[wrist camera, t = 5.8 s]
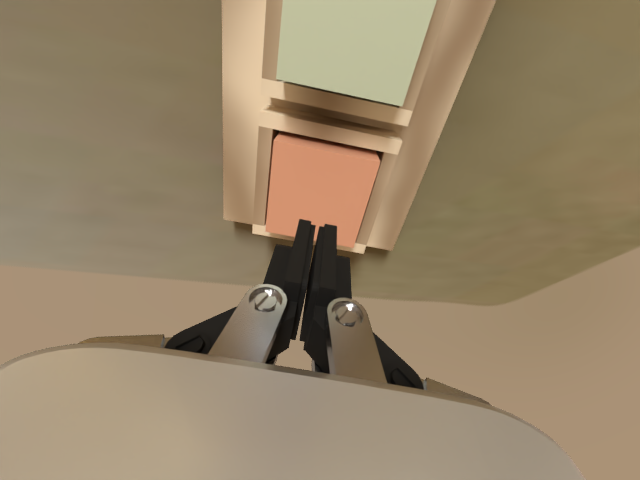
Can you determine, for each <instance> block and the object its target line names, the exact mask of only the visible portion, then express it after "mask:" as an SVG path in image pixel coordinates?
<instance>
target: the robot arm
mask: <svg viewBox="0 0 640 480" xmlns="http://www.w3.org/2000/svg"><path fill="white" fill-rule="evenodd" d="M315 227H316V225H312V224H311V221H308V220H303V219H299V223H298V227H297V231H296V235H295V239H294V243H293V247H289V246H284V245H278V244H276V247H275V249H274V253H273V256H272V259H271V262H270V265H269V268H268V271H267V274H266V277H265V280H264V283H263V284H260V285H256V286H254V287H252V288H251V289H249V290H248V291H247V293H246V294H245V295H244V297H243V299H242V300H241V302H240V304H239V305H238V306H237V307H235V308H232V309H230V310H228V311H226V312H224V313H221V314H219V315H217V316H215V317H212V318H210V319H208V320H206V321H203V322H201V323H199V324H197V325H195V326H192V327H190V328H188V329H185V330H183V331H181V332H180V333H178V334H176V335H174V336H173V337H171V338H165V337H164V335H139V336H137V335H136V336H111V337H96V338H89V339H87V340H84V341H82V342H80V343H78V344H70V345H64V346H57V347H51V348H46V349H42V350H38V351H34V352H31V353H28V354H24V355H22V356H19V357H17V358H14V359H12V360H9V361H7V362H6V363H4V364H2V365H0V480H586V479H585V477H584V476H583V474H582V473H581V472H580V470H579V469H578V467H577V466H576V465H575V463H574V462H573V461H572V459H571V458H570V457H569V455H568V454H567V453H566V452H565V451H564V450H563V449H562V447H561V446H560V445H559V444H557V443H556V442H555V441H554V440H553V439H552V438H551V437H549V436H548V435H547V434H545V433H544V432H543V431H541V430H540V429H538V428H536V427H535V426H533V425H532V424H530V423H528V422H526V421H524V420H523V419H521V418H519V417H517V416H515V415H513V414H511V413H509V412H506V411H504V410H502V409H499V408H497V407H494V406H492V405H490V404H489V403H488V402H486V401H484V400H482V399H481V398H478V397H475V396H473V395H470V394H468V393H465V392H463V391H460V390H458V389H455V388H452V387H450V386H447V385H444V384H442V383H440V382H437V381H434V380H432V379H429V378H426V379H425V380H423V379H420V377H419V376H418V375H417V374H416V372H415V371H414V370H413V369H412V368H411V367H410V366H409V365H408V364H407V363H405V361H403V360H402V359H401V358H400V357H399V356H398V355H397V354H396V353H395V352H394V351H393V350H392V349H391V348H389V347H388V346H387V345H386V344H385V343H384V342H383V341H382V340H381V339H380V338H379V337H378V336H377V335H375V334H374V333H373V332H372V328H371V325H370V321H369V318H368V314H367V312H366V310H365V309H364V307H363V306H362V305H361V304H359V303H358V302H357V301H355V300H352V294H351V274H350V258H348V257H343V256H338V255H337V226H335V225H329V224H325V225H324V227H323V226H319V230H318V235H317V239H316V244H315V249H314V253H313V258H312V262H311V256H312V249H313V241H314V234H315ZM310 263H311V267H310ZM309 270H310V272H309ZM306 289H307V291H306ZM305 293H306V298H305ZM304 298H305V305H304V312H303V320H302V327H301V334H300V341H304V342H305V343H304V350H305V351H306V352H307V353H308V354H309V355H310V357H311V358H312V371H308V370H302V369H296V368H290V367H283V366H277V365H275V363H276V361H277V357H278V354H280V353H281V352H283V351H284V350H286V349H287V348H289V343H290V339H292V340H295V339H296V335H297V330H298V326H299V321H300V316H301V312H302V307H303V303H304Z"/></svg>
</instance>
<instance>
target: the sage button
mask: <svg viewBox="0 0 640 480" xmlns="http://www.w3.org/2000/svg"><path fill="white" fill-rule="evenodd" d="M436 1H437V0H283V4H282V15H281V27H280V39H279V50H278V62H277V74H276V79H278V80H283V81H288V82H292V83H297V84H301V85H306V86H310V87H315V88H320V89H324V90H329V91H333V92H338V93H342V94H347V95H351V96H356V97H361V98H365V99H370V100H374V101H379V102H383V103H388V104H393V105H397V106H403V103H404V100H405V97H406V94H407V91H408V88H409V85H410V81H411V78H412V75H413V72H414V69H415V66H416V63H417V60H418V57H419V54H420V51H421V47H422V44H423V41H424V38H425V35H426V32H427V29H428V26H429V23H430V20H431V17H432V13H433V10H434V7H435V4H436Z"/></svg>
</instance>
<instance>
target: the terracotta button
mask: <svg viewBox="0 0 640 480" xmlns="http://www.w3.org/2000/svg"><path fill="white" fill-rule="evenodd" d="M379 165H380V160H379V157H378V155H377V152H376V150H372V149H367V148H362V147H357V146H353V145H348V144H343V143H338V142H333V141H329V140H324V139H319V138H314V137H309V136H304V135H300V134H295V133H290V132H285V131H280V132H279V134H278V135H277V136H276V138H275V139H274V143H273V153H272V164H271V175H270V186H269V197H268V208H267V219H266V230H265V232H270V233H276V234H281V235H286V236H292V237H295V235H296V231H297V227H298V223H299V219H303V220H308V221H311V224H312V225H316V227H315V234H314V241H316V239H317V235H318V230H319V226H323V227H324V225H325V224H329V225H335V226H337V245H340V246H346V247H351V248H354V244H355V241H356V238H357V235H358V232H359V229H360V225H361V222H362V219H363V216H364V213H365V210H366V206H367V203H368V200H369V197H370V194H371V191H372V187H373V184H374V181H375V178H376V175H377V172H378V168H379Z"/></svg>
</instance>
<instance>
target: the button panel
mask: <svg viewBox="0 0 640 480" xmlns="http://www.w3.org/2000/svg"><path fill="white" fill-rule="evenodd" d="M495 2H496V0H437V1H436V4H435V7H434V10H433V13H432V17H431V20H430V23H429V26H428V29H427V32H426V35H425V38H424V41H423V44H422V47H421V51H420V54H419V57H418V60H417V63H416V66H415V69H414V72H413V75H412V78H411V81H410V85H409V88H408V91H407V94H406V97H405V100H404V103H403V106H397V105H393V104H388V103H383V102H379V101H374V100H370V99H365V98H361V97H356V96H351V95H347V94H342V93H338V92H333V91H329V90H324V89H320V88H315V87H310V86H306V85H301V84H297V83H292V82H288V81H283V80H278V79H276V74H277V62H278V50H279V39H280V27H281V15H282V4H283V0H222V75H223V196H224V219H225V220H230V221H235V222H241V223H246V224H252V225H253V230H252V233H253V234H259V235H264V236H269V237H275V238H280V239H286V240H291V241H294V239H295V237H292V236H286V235H281V234H276V233H270V232H265V230H266V219H267V208H268V197H269V186H270V175H271V164H272V153H273V143H274V139H275V138H276V136H277V135H278V134H279V132H280V131H285V132H290V133H295V134H300V135H304V136H309V137H314V138H319V139H324V140H329V141H333V142H338V143H343V144H348V145H353V146H357V147H362V148H367V149H372V150H376V152H377V155H378V157H379V160H380V165H379V168H378V172H377V175H376V178H375V181H374V184H373V187H372V191H371V194H370V197H369V200H368V203H367V206H366V210H365V213H364V216H363V219H362V222H361V225H360V229H359V232H358V235H357V238H356V241H355V244H354V248H351V247H346V246H340V245H337V249H340V250H345V251H351V252H356V253H361V254H364V251H365V248H366V246H369V247H375V248H380V249H385V250H391V251H392V250H393V247H394V245H395V243H396V240H397V238H398V235H399V233H400V231H401V228H402V226H403V223H404V221H405V219H406V216H407V214H408V211H409V209H410V207H411V204H412V202H413V199H414V197H415V195H416V192H417V190H418V187H419V185H420V182H421V180H422V178H423V175H424V173H425V170H426V168H427V166H428V163H429V161H430V158H431V156H432V154H433V151H434V149H435V146H436V144H437V142H438V139H439V137H440V134H441V132H442V129H443V127H444V125H445V122H446V120H447V117H448V115H449V113H450V110H451V108H452V105H453V103H454V101H455V98H456V96H457V93H458V91H459V89H460V86H461V84H462V81H463V79H464V76H465V74H466V72H467V69H468V67H469V64H470V62H471V60H472V57H473V55H474V52H475V50H476V48H477V45H478V43H479V40H480V38H481V36H482V33H483V31H484V28H485V26H486V23H487V21H488V19H489V16H490V14H491V11H492V9H493V7H494V4H495ZM315 244H316V241H313V245H315Z"/></svg>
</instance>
